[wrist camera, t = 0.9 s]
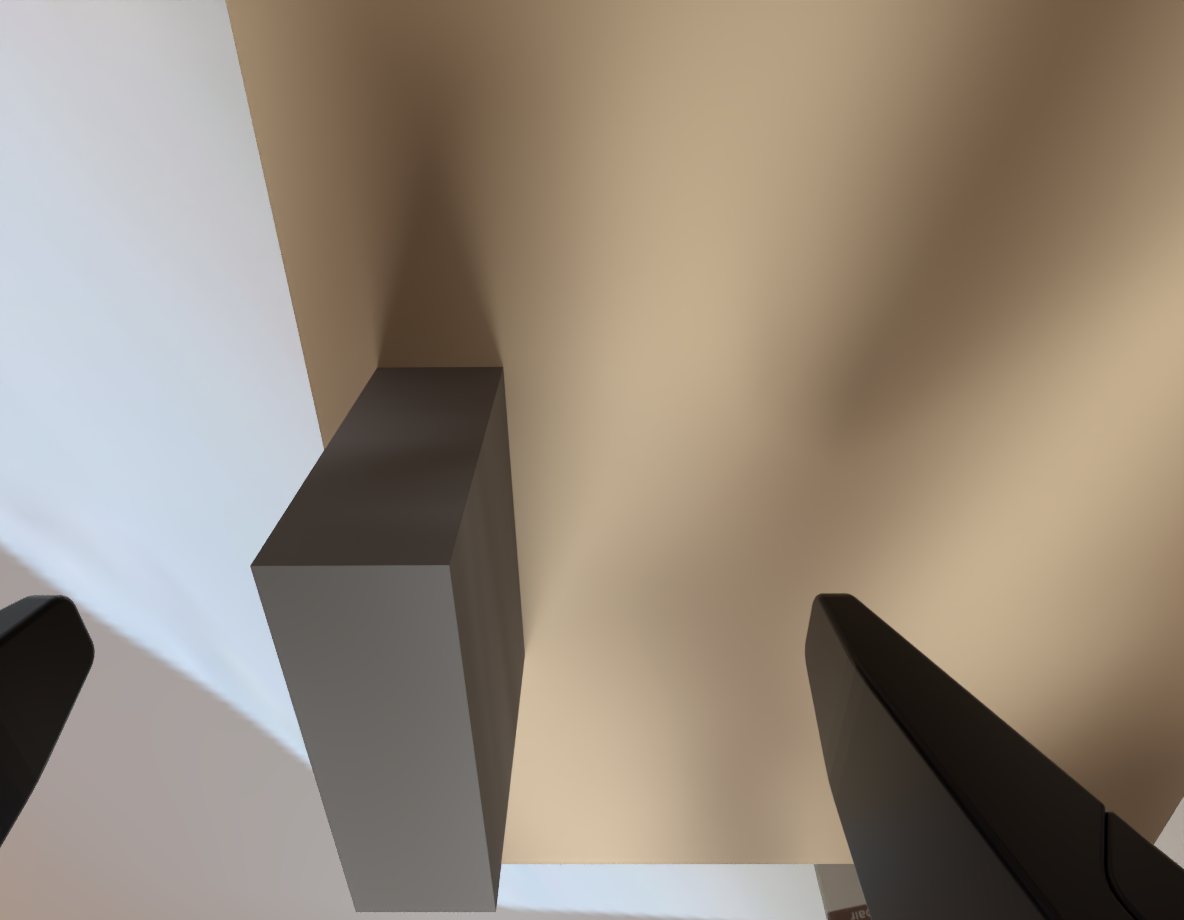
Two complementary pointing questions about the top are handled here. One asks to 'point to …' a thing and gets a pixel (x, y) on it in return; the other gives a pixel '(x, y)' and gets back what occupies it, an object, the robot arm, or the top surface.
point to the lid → (715, 406)
